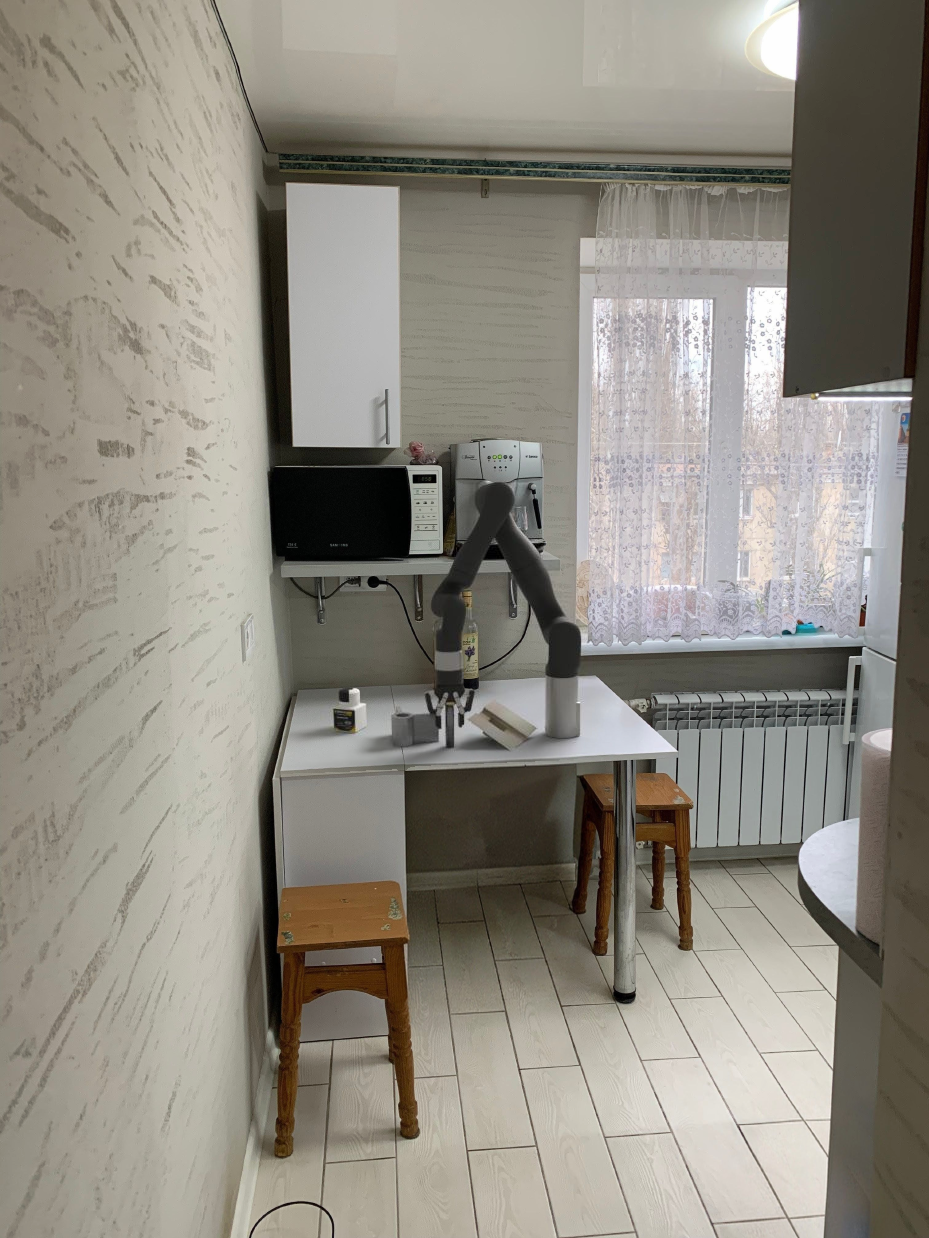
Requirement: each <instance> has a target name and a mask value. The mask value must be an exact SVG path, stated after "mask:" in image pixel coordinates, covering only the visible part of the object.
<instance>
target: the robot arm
mask: <svg viewBox="0 0 929 1238" xmlns="http://www.w3.org/2000/svg"><path fill="white" fill-rule="evenodd" d="M515 502H516V493H515V490H514V489H513V487H512V486H511V485H510V484H508V482H507V483H506V482H503V481H495V482H490V483H487V484H484V485H481V486H480V487H479V488H478V489H476V491H475V494H474V506H475V508H476V510H477V512H478V514H479V515H478V519H477V521H476V524H475V525H474V527H473V528H472V530H471V532H470V534H469V535H468V537H466V540H465V541H464V542H463V544H462V545H461V547H460V548H459V550H458V551H457V553H456V555H455V558H454V560H453V561H452V564H451V566H450V569H449V571H448V573H447V575H446V577H444V578H443V580H442V581H441V583H440V585H438V587H437V589H436V590H435V591H434V593H433V595H432V598H431V601H430V609H431V613H432V614H433V615H434V616H436V617H437V618H441V619H442V623H441V627H440V628H438V629H437V630H436V631H435V655H434V683H435V685H434V687H433V689H432V690H430V691H427V690H425V691H424V692H423V696H424V699H425V703H426V707H427V711H428V713H430V714H434V715H435V725H436V727H438V729H439V730H441V729H442V715H441V713H442V711H443V709H444V708H445V702H455V706H456V707H457V710H458V712H457V727H458V728H459V729H460V728H463V726H464V725H465V714H466V713H469V712H471V711H472V706H473V703H474V697H475V693H476V692H475V690H474V689H473V688H465V686H464V658H463V657H464V656H463V650H462V649H463V647H462V646H463V643H462V640H463V639H462V638H463V637H462V634H463V631H464V626H465V621H466V618H467V617H466V616H467V605H466V602H465V600H464V598H463V596H461V594H462V592H463V591H465V590H467V589H469V588H471V586H472V585H473V583H474V581H475V579H476V577H477V574H478V572H479V570H480V568H481V565H482V563H483V560H484V558H485V557H486V554H487V553H488V550H489V548H490V547H491V544H492V542H493V541H494V539H495V541H496V543H497V546H498V548H499V549H500V553H501V554H502V556H503V558H504V560H505V561H506V564H507V566H508V568H509V571H510V573H511V575H512V577H513V579H514V580H515V583H516V584H517V587H518V588H519V590H520V592H521V593H522V595H523V596H524V598H525V600H526V601H527V604H528V605H530V607H531V609H532V611H533V613H534V615H535V618H536V620H537V623H538V626H539V628H540V631H541V635H542V637H543V640H544V641H545V643H546V644H547V645H548V652H547V653H548V658H547V659H548V660H547V663H546V665H545V672H544V673H545V674H544V675H545V679H544V680H545V681H544V682H545V685H544V688H545V690H544V691H545V693H544V695H545V696H544V697H545V699H544V700H545V701H544V704H545V706H544V713H545V714H544V720H545V722H544V732H545V733H544V734H545V735H546V736H547V737H549V738H550V737H551V738H556V739H568V738H569V739H570V738H575V737H578V736H581V702H580V701H579V669H580V666H581V660H582V659H581V658H582V633H581V629H580V627H579V626H578V625H577V624H576V623H575V622H573V621H572V620H570V619H569V618H568V616H567V615H566V613H565V611H564V610H563V608H562V606H560V603H559V602H558V600H557V597H556V596H555V592H554V589H553V585H552V584H553V583H552V580H551V576H550V574H549V570H548V568H547V566H546V564H545V562H544V560H543V558H542V556H541V554H540V552H539V551H538V549H537V548H536V547H535V545H534V544H533V543H532V541H530V539H529V538H528V537H527V536H526V535H525V533H523V531H521V529H520V528H519V527H518V525H517V524H516V521H515V520H514V518H513V516H512V513H511V511H512V510H513V508H514V506H515ZM464 694H465V696H466V700H465V705H464V706H463V705H462V701H461V698H462V696H463V695H464ZM434 696H435V697H437V699H438V700H437V701H436V702H437V703H436V705H435V706H436V707H435V708H434V707H433V703H432V700H433V699H434Z"/></svg>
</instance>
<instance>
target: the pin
mask: <svg viewBox="0 0 929 1238" xmlns="http://www.w3.org/2000/svg"><path fill="white" fill-rule="evenodd" d="M455 706H456V704H455V702H445V705H444V713H445V714H444V715H445V716H444V717H445V719H444V720H445V721H444V722H445V723H444V727H445V730H444V731H445V748H447V749H452V748H455Z"/></svg>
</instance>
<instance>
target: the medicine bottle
mask: <svg viewBox="0 0 929 1238" xmlns="http://www.w3.org/2000/svg"><path fill="white" fill-rule="evenodd" d="M360 693H361V692H360V690H359V689H358V688H356V687H345V688H341V689H340V690H339V691H338V701H339V702H338V703H339V704H338V705H336V706H333V708H332V710H333V712H332V714H333V731H335V732H341V733H351V734H356V733H358V732H359V731H362V730H363V729H365V728H366V727H367V704H366V703H364V702H361V698H360V697H361V694H360Z"/></svg>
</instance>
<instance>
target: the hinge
mask: <svg viewBox="0 0 929 1238" xmlns="http://www.w3.org/2000/svg"><path fill="white" fill-rule="evenodd" d="M395 712H396V713H393V714H391V716H390V717H391V744H392V745H393V746H395V747H401V748H404V747H410V746H413V745H414V744H422V743H434V742H435V743H436V742H440V739H439V738H440V734H439V733H440V732H439V730H440V729H438V727H436V725H435V715H434V714H430V713H429V712H428V713H425V712H424V713H412V712H406V711H405V712H404V711H403V710H402V708H401V707H400V706H398V705H397V706H395Z"/></svg>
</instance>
